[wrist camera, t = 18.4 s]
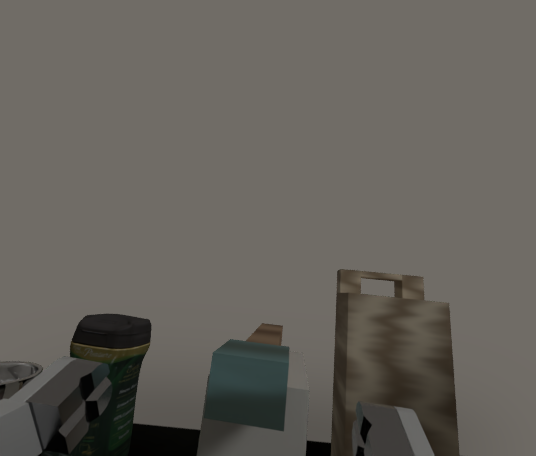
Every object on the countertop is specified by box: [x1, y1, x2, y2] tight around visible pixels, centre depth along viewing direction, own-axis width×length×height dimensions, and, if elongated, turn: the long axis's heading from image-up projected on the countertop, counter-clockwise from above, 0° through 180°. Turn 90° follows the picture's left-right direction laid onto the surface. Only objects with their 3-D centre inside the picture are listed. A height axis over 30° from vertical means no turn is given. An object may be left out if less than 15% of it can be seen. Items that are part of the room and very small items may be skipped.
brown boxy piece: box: [331, 269, 459, 456], centre depth 33 cm, size 12×9×29 cm
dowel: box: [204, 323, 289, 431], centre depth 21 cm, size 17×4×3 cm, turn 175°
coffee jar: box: [41, 314, 151, 456], centre depth 35 cm, size 10×8×19 cm
